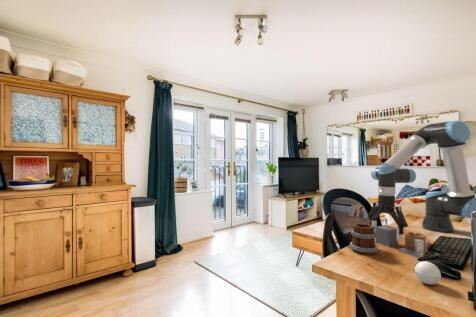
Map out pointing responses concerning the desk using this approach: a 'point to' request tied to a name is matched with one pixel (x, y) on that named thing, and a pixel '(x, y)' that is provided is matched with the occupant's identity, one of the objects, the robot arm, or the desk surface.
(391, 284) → the desk surface
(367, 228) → the brown banded cylinder
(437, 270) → the white egg
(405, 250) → the shaft base
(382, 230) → the squarish grey box
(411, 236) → the bracket
